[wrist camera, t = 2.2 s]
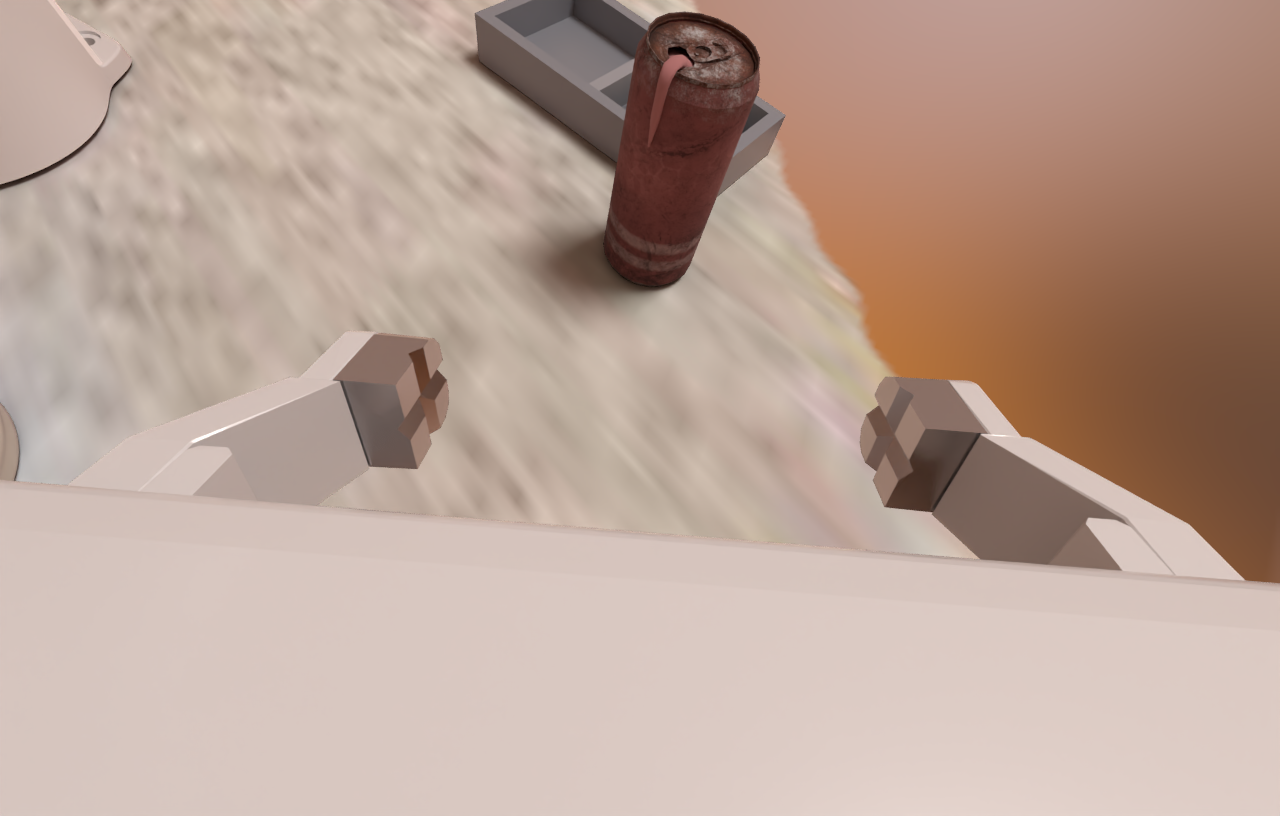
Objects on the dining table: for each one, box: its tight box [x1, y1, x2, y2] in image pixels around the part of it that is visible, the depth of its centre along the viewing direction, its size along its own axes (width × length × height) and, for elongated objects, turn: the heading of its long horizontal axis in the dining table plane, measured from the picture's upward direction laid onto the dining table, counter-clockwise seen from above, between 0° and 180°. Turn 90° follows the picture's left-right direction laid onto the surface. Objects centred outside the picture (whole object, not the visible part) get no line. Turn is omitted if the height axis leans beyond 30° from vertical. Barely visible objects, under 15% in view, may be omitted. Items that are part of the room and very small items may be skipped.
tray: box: [475, 0, 785, 196], centre depth 41 cm, size 22×11×4 cm, turn 51°
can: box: [603, 12, 760, 286], centre depth 30 cm, size 6×6×14 cm
